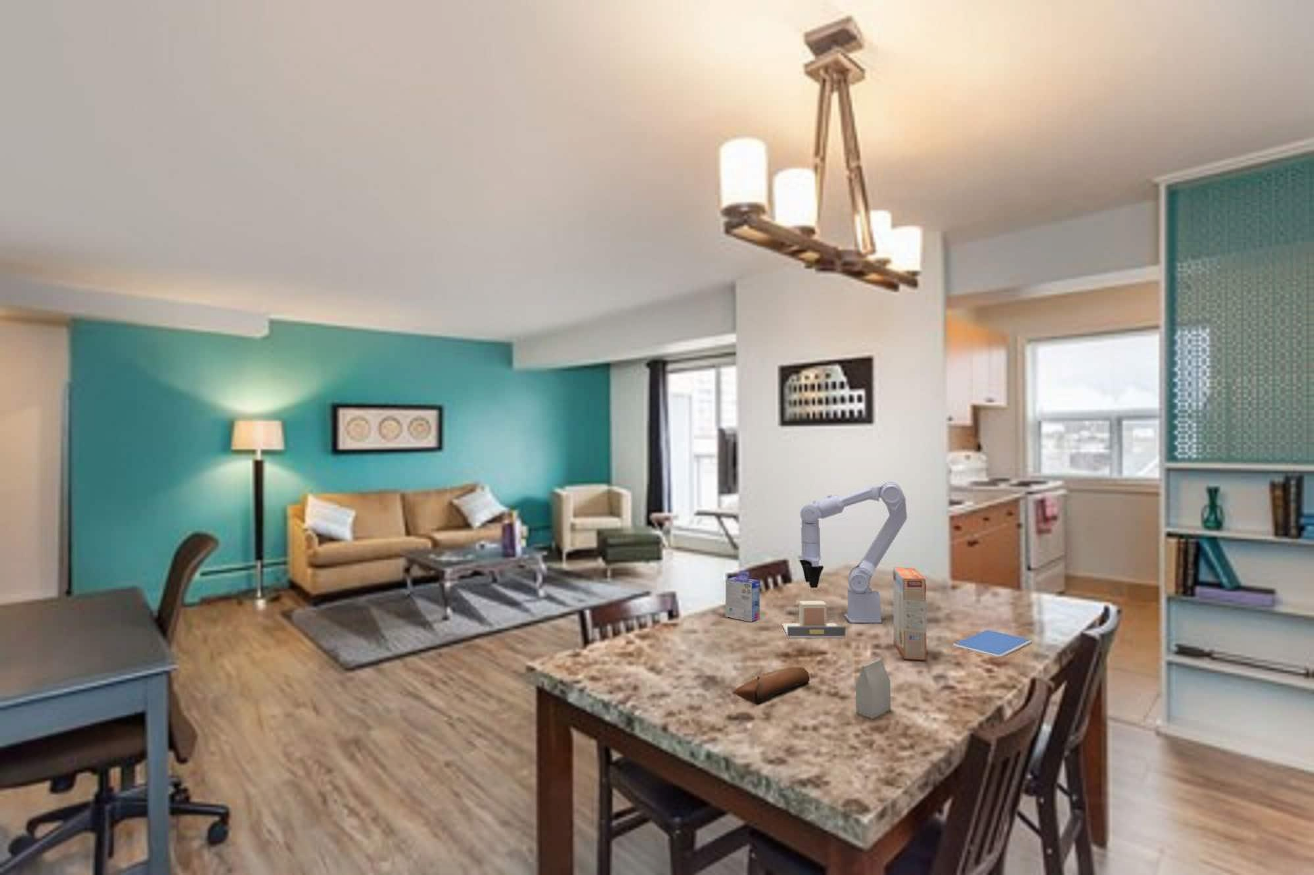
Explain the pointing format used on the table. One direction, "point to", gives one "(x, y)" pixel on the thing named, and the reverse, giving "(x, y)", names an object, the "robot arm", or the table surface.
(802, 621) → the carton
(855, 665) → the table surface
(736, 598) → the ink cartridge box
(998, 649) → the tablet computer
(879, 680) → the grey milk carton
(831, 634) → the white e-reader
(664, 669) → the table surface
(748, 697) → the sunglasses case
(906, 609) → the cracker box
